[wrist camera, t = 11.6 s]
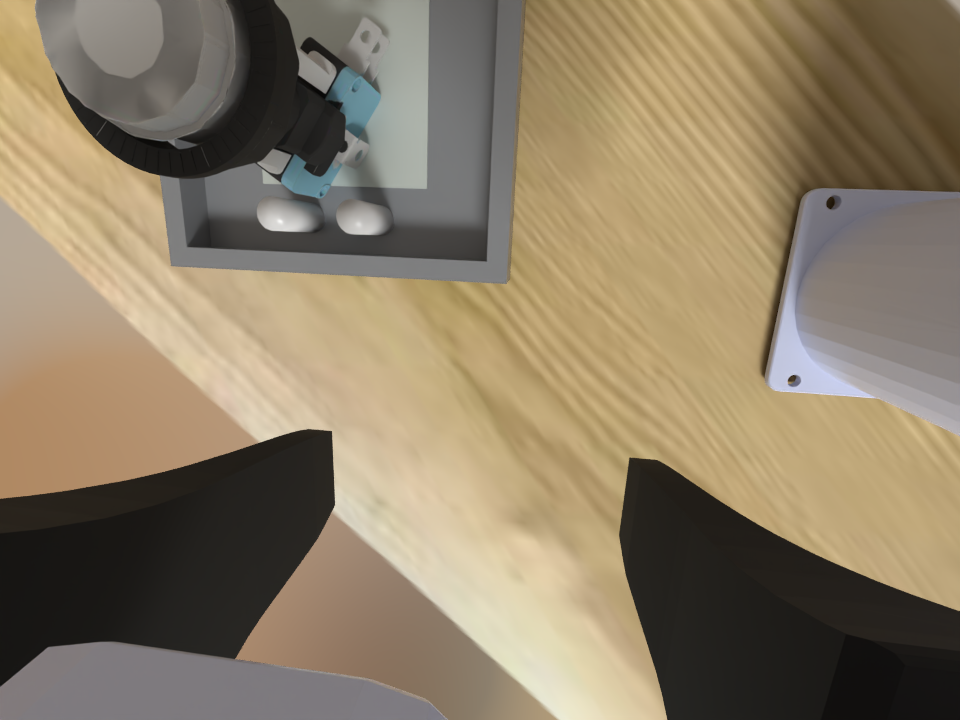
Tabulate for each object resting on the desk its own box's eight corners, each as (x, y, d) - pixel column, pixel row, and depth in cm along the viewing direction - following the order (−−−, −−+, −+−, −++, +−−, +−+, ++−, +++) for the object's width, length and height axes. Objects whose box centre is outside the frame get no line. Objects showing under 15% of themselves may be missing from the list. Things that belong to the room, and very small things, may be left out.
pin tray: (536, -188, 16) (536, -315, 12) (509, 278, 20) (503, 287, 16) (163, -169, 17) (65, -277, 14) (208, 263, 22) (141, 267, 18)
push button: (331, -4, 17) (77, -307, 8) (445, 87, 18) (335, -97, 8) (249, 152, 19) (-40, 63, 10) (353, 232, 19) (174, 223, 10)
